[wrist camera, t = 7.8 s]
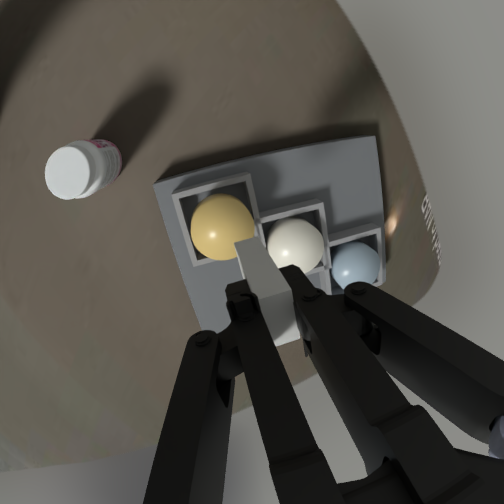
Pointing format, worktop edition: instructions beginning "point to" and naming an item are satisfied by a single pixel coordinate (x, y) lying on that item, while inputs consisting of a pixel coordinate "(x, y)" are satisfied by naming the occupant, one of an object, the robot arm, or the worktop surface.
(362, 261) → the slate button
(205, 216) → the ochre button
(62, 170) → the pill bottle
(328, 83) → the worktop surface
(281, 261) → the ivory button
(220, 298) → the panel
